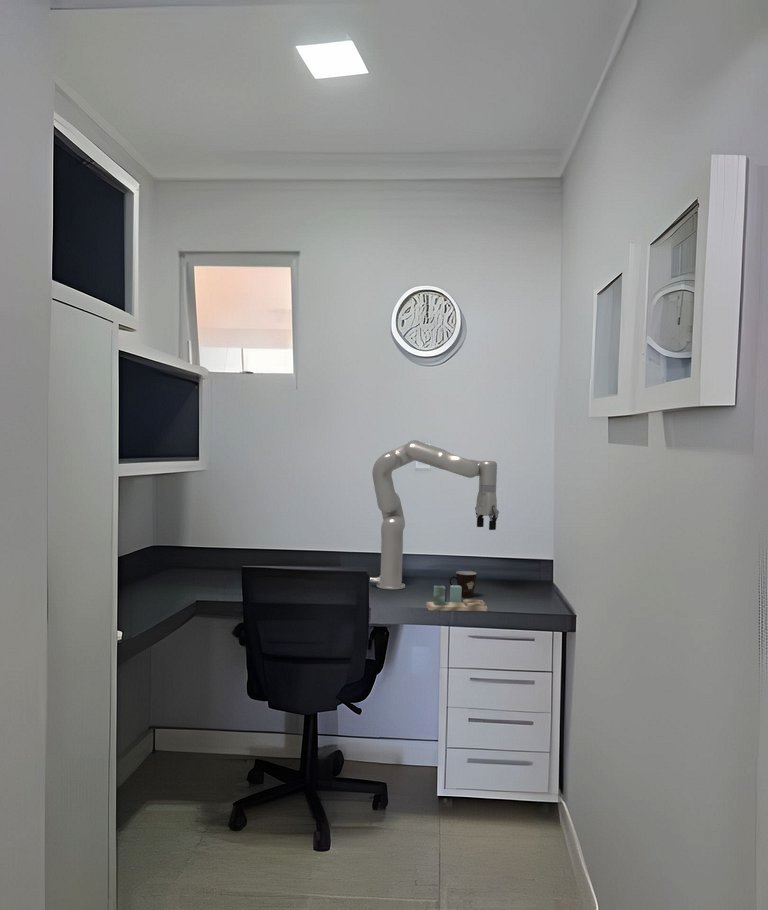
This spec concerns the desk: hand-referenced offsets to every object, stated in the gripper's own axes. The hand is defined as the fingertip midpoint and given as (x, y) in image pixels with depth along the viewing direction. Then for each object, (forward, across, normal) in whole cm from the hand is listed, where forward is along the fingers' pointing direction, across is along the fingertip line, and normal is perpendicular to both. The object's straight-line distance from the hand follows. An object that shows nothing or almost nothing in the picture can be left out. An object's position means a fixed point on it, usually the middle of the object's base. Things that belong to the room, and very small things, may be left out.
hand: (486, 528), depth 351 cm
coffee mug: (+28, +5, -14) cm, 32 cm away
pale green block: (+28, +16, -24) cm, 40 cm away
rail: (+28, +24, -28) cm, 46 cm away
